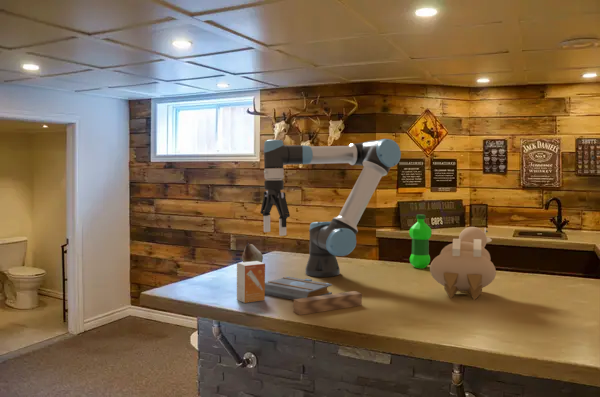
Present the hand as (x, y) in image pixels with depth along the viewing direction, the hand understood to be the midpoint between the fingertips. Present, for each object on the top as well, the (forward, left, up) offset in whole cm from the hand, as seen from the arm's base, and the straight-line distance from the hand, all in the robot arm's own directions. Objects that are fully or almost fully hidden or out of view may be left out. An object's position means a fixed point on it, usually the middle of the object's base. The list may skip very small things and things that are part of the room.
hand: (274, 233), depth 192 cm
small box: (+17, +16, -21) cm, 32 cm away
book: (-1, +16, -21) cm, 27 cm away
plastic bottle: (-78, -1, -21) cm, 80 cm away
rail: (-1, +38, -20) cm, 43 cm away
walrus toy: (-53, +47, -21) cm, 74 cm away
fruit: (-7, -36, -21) cm, 42 cm away
